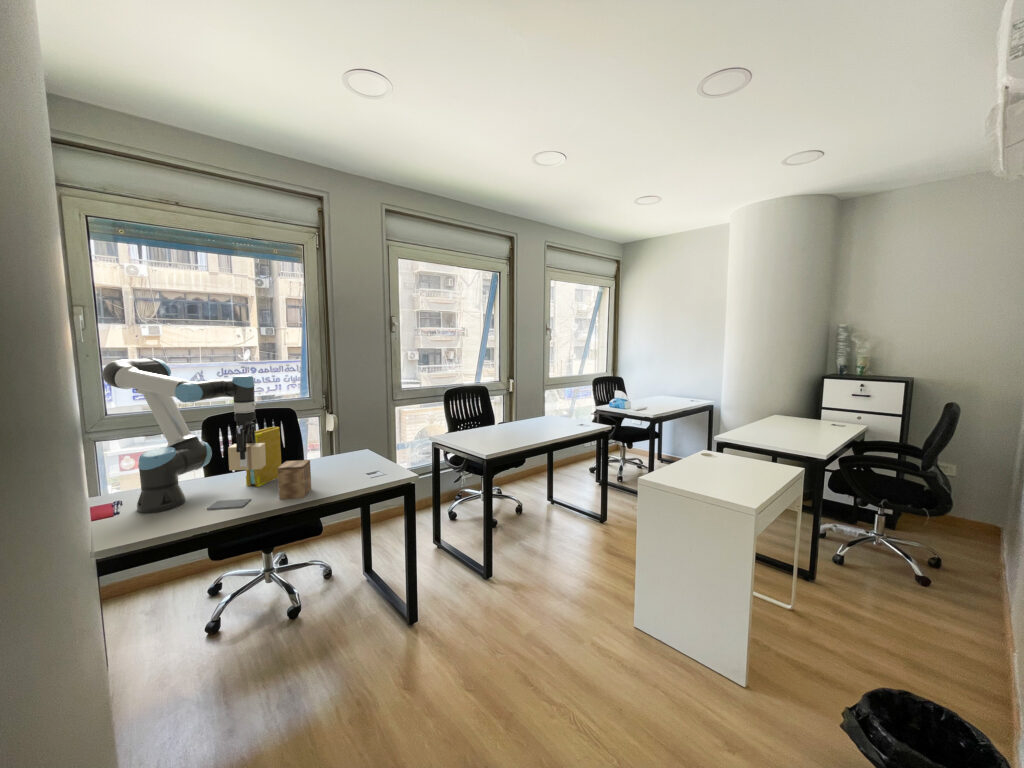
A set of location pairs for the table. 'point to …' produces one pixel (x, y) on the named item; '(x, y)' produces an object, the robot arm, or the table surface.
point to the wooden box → (294, 479)
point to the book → (272, 457)
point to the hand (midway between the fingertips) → (247, 463)
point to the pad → (229, 504)
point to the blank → (254, 457)
